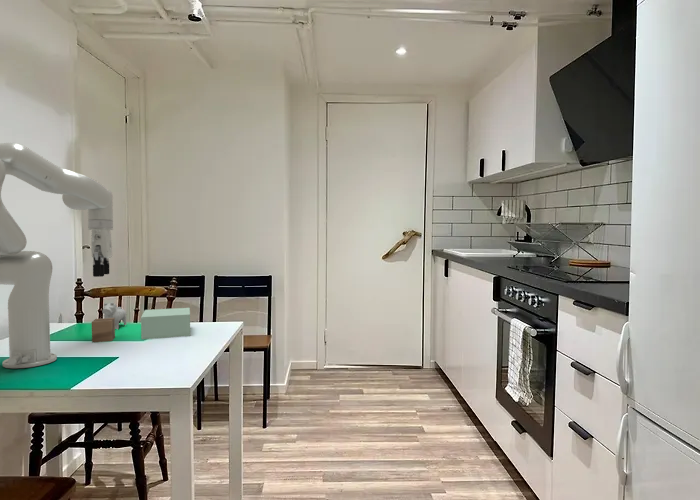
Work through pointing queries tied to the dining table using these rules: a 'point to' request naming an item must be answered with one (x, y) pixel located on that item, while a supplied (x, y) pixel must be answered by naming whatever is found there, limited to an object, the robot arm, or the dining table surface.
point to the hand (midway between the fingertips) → (101, 275)
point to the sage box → (165, 323)
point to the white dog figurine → (114, 313)
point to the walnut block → (103, 330)
